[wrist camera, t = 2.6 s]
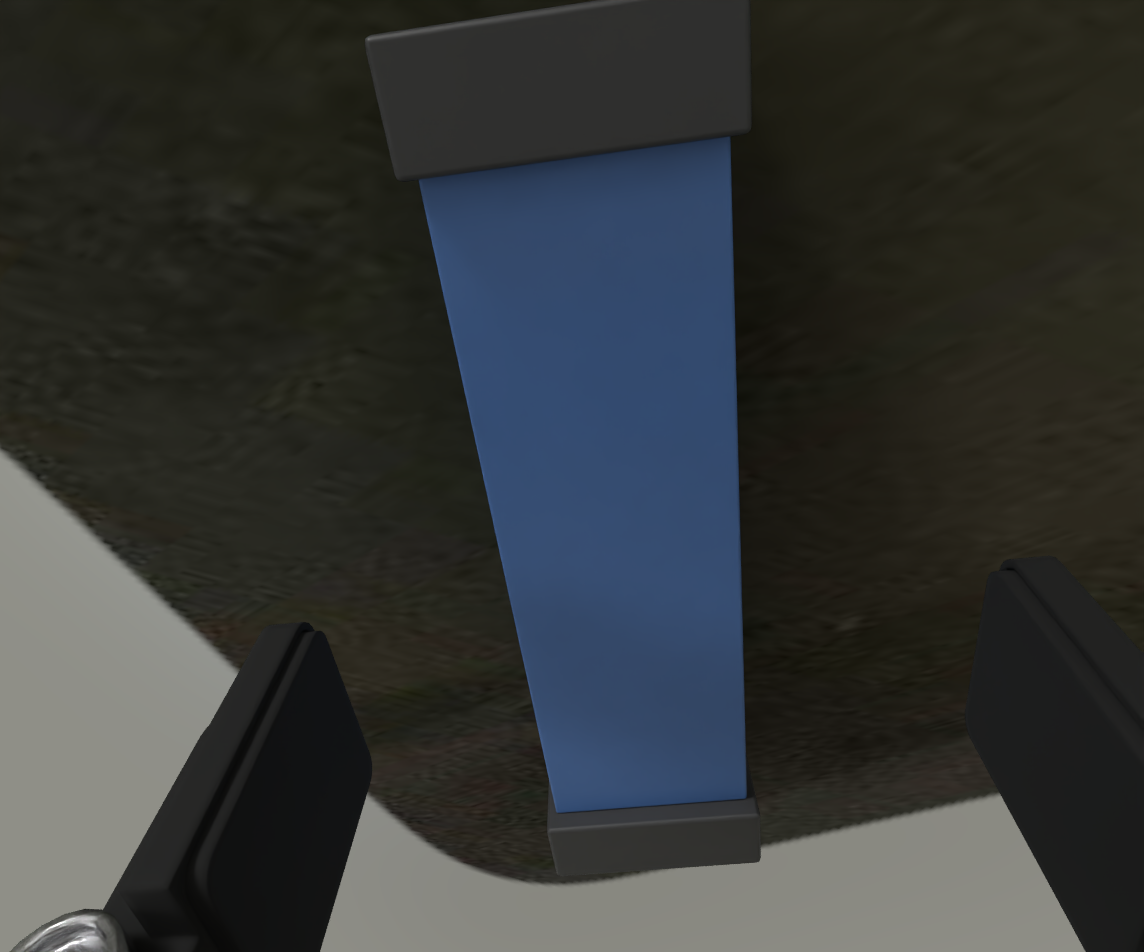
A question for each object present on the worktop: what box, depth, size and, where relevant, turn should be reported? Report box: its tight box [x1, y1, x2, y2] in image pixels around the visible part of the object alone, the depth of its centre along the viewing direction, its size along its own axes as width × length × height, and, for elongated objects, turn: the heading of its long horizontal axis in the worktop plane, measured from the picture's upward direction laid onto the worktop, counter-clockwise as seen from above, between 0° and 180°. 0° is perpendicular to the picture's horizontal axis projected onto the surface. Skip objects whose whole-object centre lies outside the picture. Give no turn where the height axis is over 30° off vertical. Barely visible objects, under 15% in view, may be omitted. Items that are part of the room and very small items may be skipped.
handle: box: [365, 0, 761, 876], centre depth 14 cm, size 16×4×4 cm, turn 7°
